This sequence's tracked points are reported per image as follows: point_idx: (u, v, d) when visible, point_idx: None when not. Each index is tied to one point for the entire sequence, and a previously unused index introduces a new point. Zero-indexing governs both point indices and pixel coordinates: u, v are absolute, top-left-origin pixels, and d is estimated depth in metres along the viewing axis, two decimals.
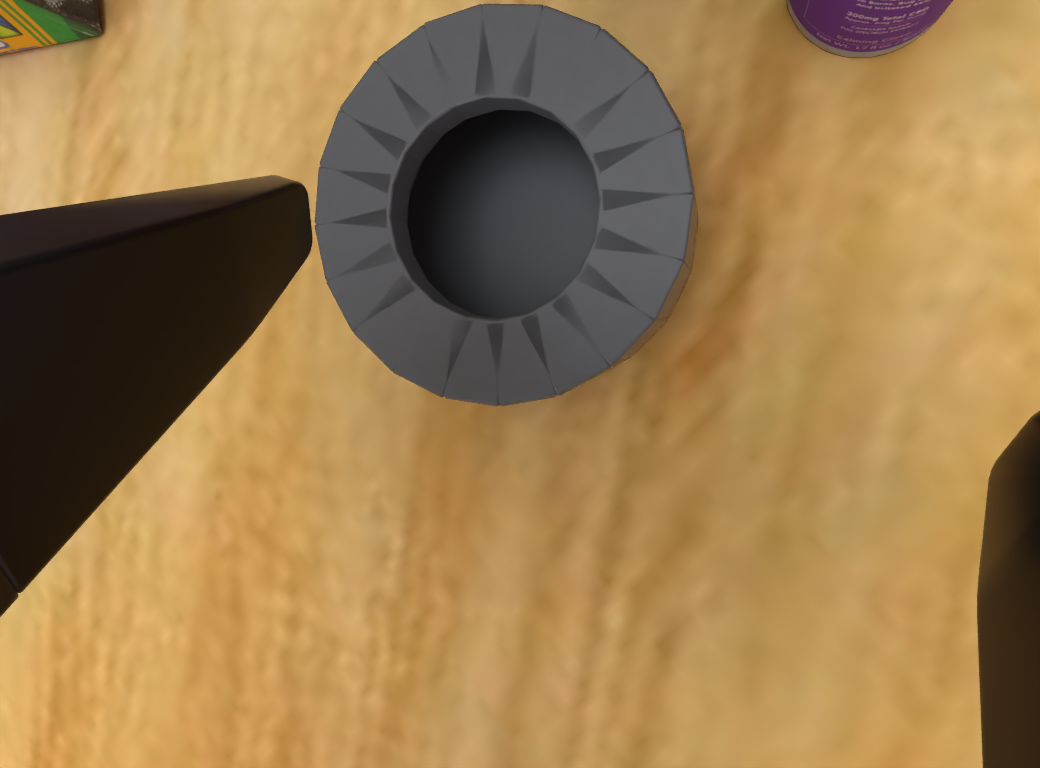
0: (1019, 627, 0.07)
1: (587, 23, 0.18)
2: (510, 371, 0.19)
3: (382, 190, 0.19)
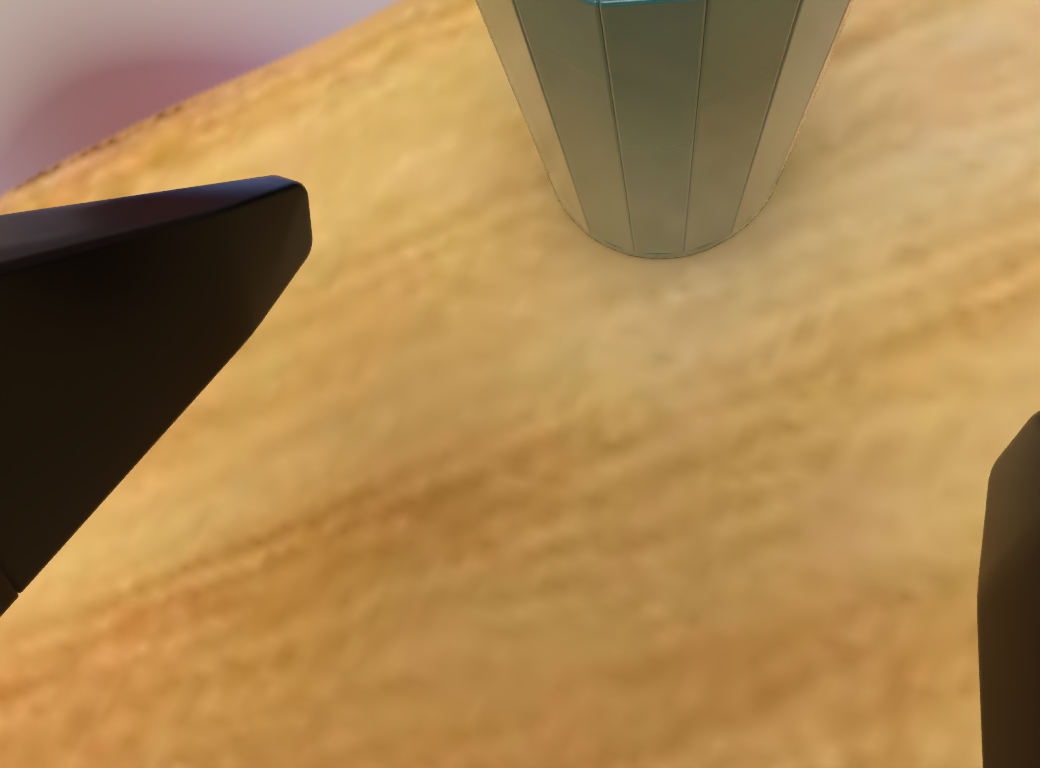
0: (1019, 627, 0.07)
1: None
2: None
3: None
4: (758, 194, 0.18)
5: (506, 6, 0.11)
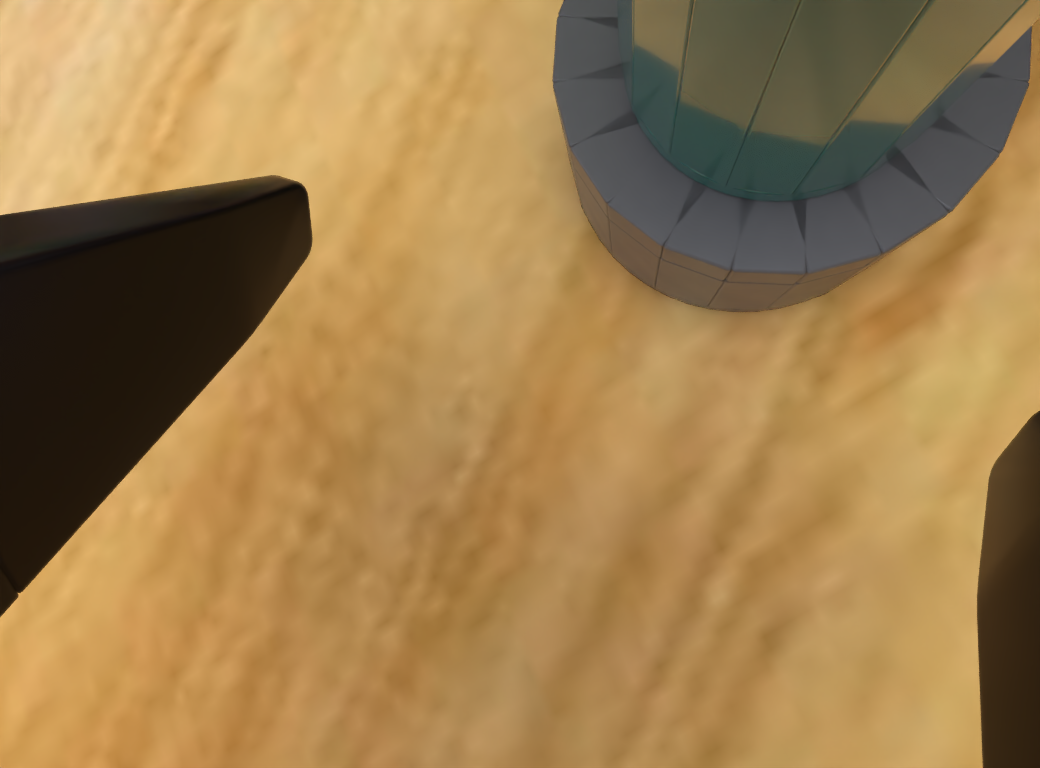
0: (1019, 627, 0.07)
1: None
2: (757, 233, 0.16)
3: None
4: (927, 120, 0.13)
5: None
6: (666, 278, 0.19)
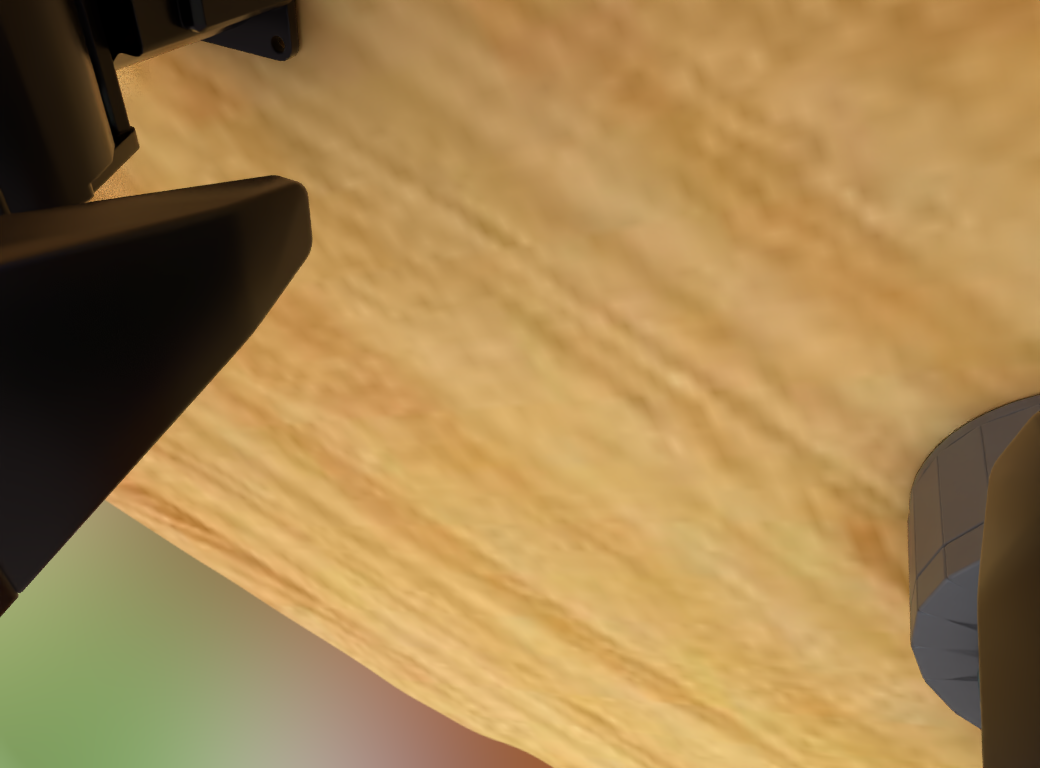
0: (1019, 627, 0.07)
1: None
2: (970, 602, 0.19)
3: None
4: None
5: None
6: (977, 474, 0.20)
